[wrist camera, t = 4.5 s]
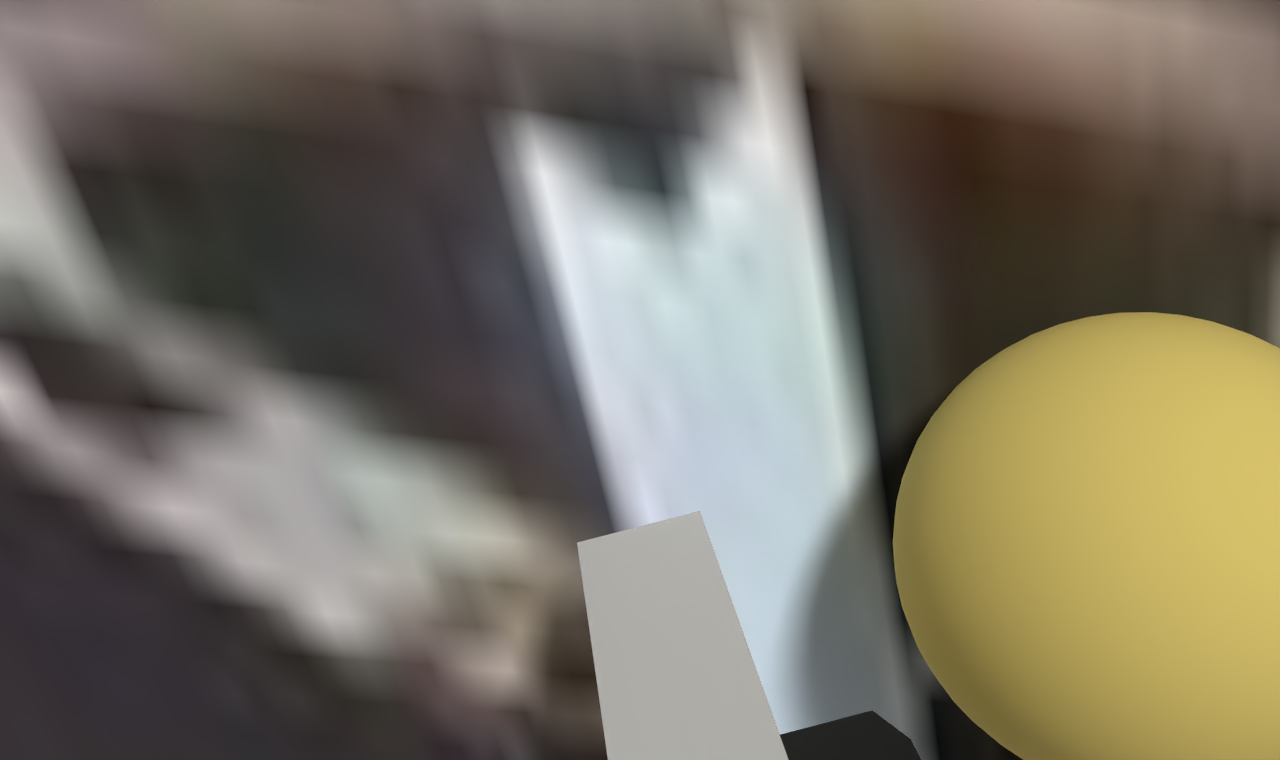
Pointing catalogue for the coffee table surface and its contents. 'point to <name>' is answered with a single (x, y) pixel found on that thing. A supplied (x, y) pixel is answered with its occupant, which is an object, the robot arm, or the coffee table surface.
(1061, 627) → the yellow ball
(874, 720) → the robot arm
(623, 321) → the coffee table surface
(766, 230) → the coffee table surface
